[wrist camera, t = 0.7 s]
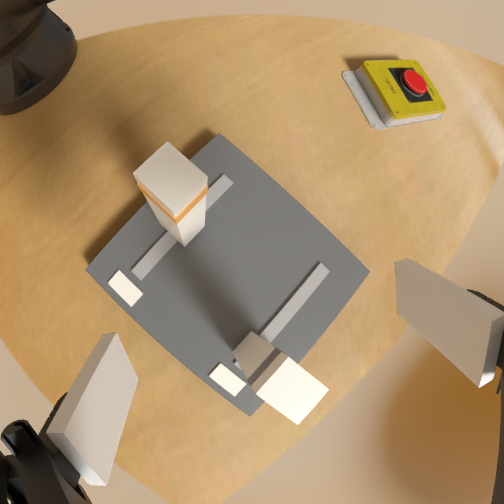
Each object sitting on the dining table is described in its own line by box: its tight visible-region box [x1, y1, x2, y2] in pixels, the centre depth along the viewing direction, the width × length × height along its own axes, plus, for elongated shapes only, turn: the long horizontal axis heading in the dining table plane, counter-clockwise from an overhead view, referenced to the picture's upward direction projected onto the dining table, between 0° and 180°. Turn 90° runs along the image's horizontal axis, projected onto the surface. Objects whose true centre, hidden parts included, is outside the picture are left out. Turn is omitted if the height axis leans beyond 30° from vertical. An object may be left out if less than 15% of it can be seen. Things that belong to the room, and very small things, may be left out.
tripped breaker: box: [133, 141, 208, 247], centre depth 21 cm, size 3×3×12 cm
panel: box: [85, 133, 370, 416], centre depth 29 cm, size 18×20×2 cm
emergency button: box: [342, 60, 446, 130], centre depth 35 cm, size 9×4×15 cm
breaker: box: [232, 331, 329, 425], centre depth 21 cm, size 3×3×12 cm
